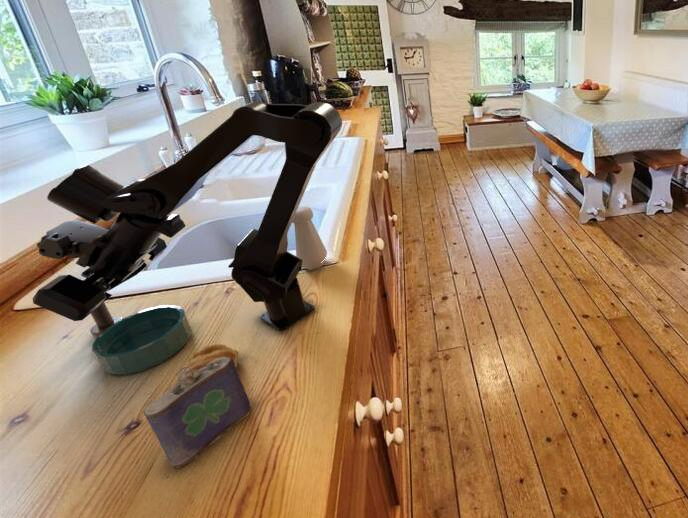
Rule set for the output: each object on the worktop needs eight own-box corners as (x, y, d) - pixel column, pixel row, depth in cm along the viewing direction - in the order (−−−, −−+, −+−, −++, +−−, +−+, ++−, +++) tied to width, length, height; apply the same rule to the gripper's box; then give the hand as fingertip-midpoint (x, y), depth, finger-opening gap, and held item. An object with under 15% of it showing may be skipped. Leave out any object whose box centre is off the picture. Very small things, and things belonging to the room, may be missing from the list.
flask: (178, 473, 47) (142, 407, 43) (165, 461, 48) (129, 396, 44) (256, 409, 54) (232, 347, 50) (243, 400, 56) (219, 339, 51)
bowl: (205, 338, 67) (197, 319, 65) (119, 389, 58) (107, 368, 57) (175, 315, 72) (167, 297, 71) (92, 358, 64) (80, 338, 62)
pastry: (233, 401, 56) (224, 381, 54) (173, 422, 53) (162, 401, 51) (241, 354, 63) (233, 335, 62) (189, 370, 61) (180, 351, 59)
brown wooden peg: (130, 330, 69) (105, 281, 65) (100, 346, 66) (71, 295, 62) (121, 322, 71) (96, 274, 67) (91, 337, 68) (63, 287, 64)
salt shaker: (334, 257, 88) (321, 202, 83) (320, 272, 83) (305, 215, 78) (308, 256, 89) (293, 202, 84) (293, 271, 84) (276, 215, 78)
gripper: (120, 183, 68) (77, 246, 72) (11, 239, 51) (-38, 319, 55) (187, 220, 72) (144, 278, 75) (107, 284, 55) (55, 355, 58)
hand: (84, 303), depth 66 cm, fingers open, 4 cm apart
